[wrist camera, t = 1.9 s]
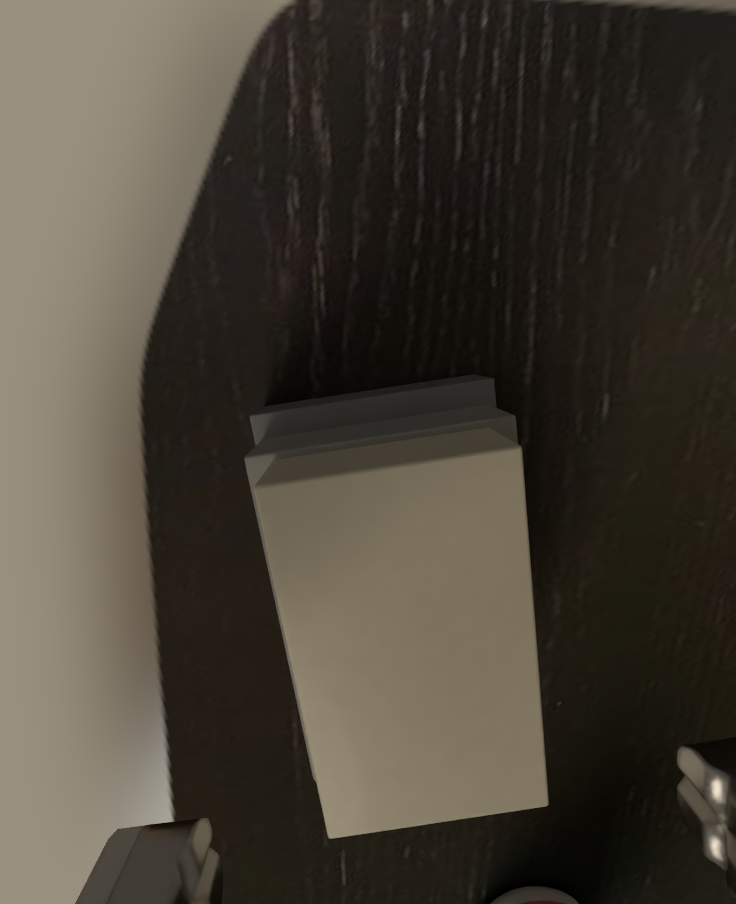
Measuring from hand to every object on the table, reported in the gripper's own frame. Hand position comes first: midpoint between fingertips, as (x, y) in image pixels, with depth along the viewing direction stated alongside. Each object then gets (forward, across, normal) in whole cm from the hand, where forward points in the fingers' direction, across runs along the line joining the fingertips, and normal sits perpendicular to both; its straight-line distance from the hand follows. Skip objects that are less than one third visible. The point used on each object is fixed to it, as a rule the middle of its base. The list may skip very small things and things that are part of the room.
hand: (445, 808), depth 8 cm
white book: (+6, 0, 0) cm, 6 cm away
